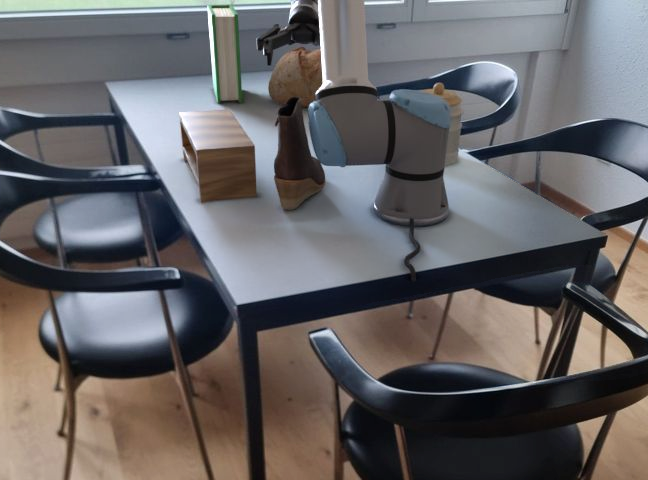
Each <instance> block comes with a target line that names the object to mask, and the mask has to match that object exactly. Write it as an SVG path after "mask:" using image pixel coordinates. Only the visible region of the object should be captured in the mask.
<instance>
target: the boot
mask: <svg viewBox="0 0 648 480" xmlns="http://www.w3.org/2000/svg"><path fill="white" fill-rule="evenodd" d="M302 108H303V107H301V99H300V97H291V98H289V99H288V100H287V101H286V102H285V103H284V106H283V105H280V107H279V108H278V109H277V112H276V114H277V118H276V120H275V122H274V127H277V128H278V129H277V153H276V156H275V158H274V161H273V162H274V163H273V171H274V175H273V180H274V184H275V187H276V191H277V195H278V197H279V198H278V199H279V202H280V207H281V208H282V209H284V210H286V211H293V210H296V209H297V208H298V207H299V206H300V205H301V204H302V203H303V202H304V201H305V200H307V199H308V198H309V197H311V196H313V195H315V194H318V193H319V192H321V190H323V188H324V187H325V183H326V174H325V170H324V168H323V164H321V163H320V162H319V160H318V159H317V157H316V156H313V155H312V153H311V150H310V149H311V148H310V144H309V139H308V135H307V131H306V125H305V119H304V115H303V109H302Z"/></svg>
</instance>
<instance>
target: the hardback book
mask: <svg viewBox="0 0 648 480" xmlns="http://www.w3.org/2000/svg"><path fill="white" fill-rule="evenodd" d="M206 6H207V19H208V32H209V33H208V34H209V46H210V47H209V49H210V59H211V61H210V62H211V72H212V73H211V74H212V87H213V93H214V96H215V100H216V102H217V105H218V104H219V105H221V104H222V101H238V103H239V104H241V103H243V89H242V88H243V87H242V67H241V51H240V50H241V48H240V47H241V45H240V29H239V27H240V26H239V14H238V12H237V10H236V9H235V8H234V5H233V4H207V5H206Z"/></svg>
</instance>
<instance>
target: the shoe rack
mask: <svg viewBox="0 0 648 480" xmlns="http://www.w3.org/2000/svg"><path fill="white" fill-rule="evenodd" d="M178 117H179V128H180V138H181V146H182V147H181V148H182V149H181V150H182V157H183V161H184V162H187V164H188V165H189V168H190V170H191V173H192V175H193V178H194V180H195V182H196V184H197V187H198V191H199V200H200V203H206V202H216V201H217V202H218V201H228V200H239V199H249V198H250V199H251V198H258V191H257V190H258V189H257V165H256V145H255V144H254V142H253V141H252V139H251V138H250V137H249V135H248V134H247V132H246V131H245V130H244V128H243V126H242V125H241V123H240V122H239V121H238V119H237V118H236V116H235V115H234V113H233V112H232V110H231V109H230V108H227V109H226V108H225V109H211V110H209V109H208V110H197V111H195V110H194V111H181V112H180V111H179V112H178Z"/></svg>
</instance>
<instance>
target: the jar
mask: <svg viewBox="0 0 648 480" xmlns="http://www.w3.org/2000/svg"><path fill="white" fill-rule="evenodd" d="M420 91H421V92H426V93H430V94H433V95H436V96H438V97H441V98H443V99H444V100H446V101H447V102H448V104H449V106H450V110H451V111H450V129H449V134H448V142H447V150H446V158H445V166H448V165H452V164H454V163H455V162H457V158H458V156H459V152H460V150H459V146H460V139H461V131H462V128H463V123H462V121H461V120H462V115H463V114H464V113H465V109H464V107H463V106H461V105H460V104H461V103H462V101H463V99H462V97H460V96H459V95H458V94H457V93H456V92H455V91H453V90H449V89H445V85H444V83H442V82H436V83H434V85H433V87H432V88H427V89H423V90H420Z"/></svg>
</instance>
